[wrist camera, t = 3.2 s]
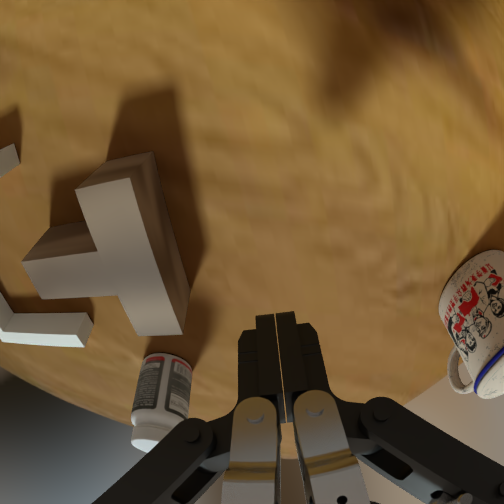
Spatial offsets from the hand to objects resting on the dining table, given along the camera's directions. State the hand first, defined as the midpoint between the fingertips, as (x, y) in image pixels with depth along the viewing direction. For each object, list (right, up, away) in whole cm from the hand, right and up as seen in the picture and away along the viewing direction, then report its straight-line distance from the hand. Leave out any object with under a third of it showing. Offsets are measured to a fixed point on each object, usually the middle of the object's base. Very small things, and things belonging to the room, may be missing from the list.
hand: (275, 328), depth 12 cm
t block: (-10, +4, +7) cm, 13 cm away
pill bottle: (-9, -7, +15) cm, 19 cm away
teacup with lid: (+19, -1, +11) cm, 22 cm away
